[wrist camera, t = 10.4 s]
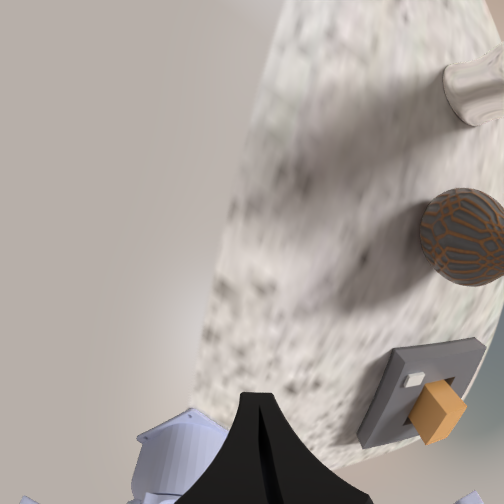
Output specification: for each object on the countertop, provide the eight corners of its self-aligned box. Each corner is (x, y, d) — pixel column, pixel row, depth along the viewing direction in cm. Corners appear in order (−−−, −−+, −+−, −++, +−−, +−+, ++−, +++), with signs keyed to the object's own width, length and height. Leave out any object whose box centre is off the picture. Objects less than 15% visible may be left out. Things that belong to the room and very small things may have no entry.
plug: (423, 404, 24) (446, 437, 18) (402, 408, 23) (425, 445, 18) (438, 373, 22) (467, 406, 17) (418, 377, 22) (446, 413, 16)
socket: (435, 415, 25) (444, 428, 22) (356, 434, 24) (363, 451, 22) (474, 337, 22) (488, 348, 19) (393, 348, 22) (407, 365, 19)
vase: (391, 237, 19) (470, 273, 11) (433, 167, 18) (517, 170, 9) (438, 282, 20) (505, 326, 12) (474, 219, 19) (546, 240, 10)
